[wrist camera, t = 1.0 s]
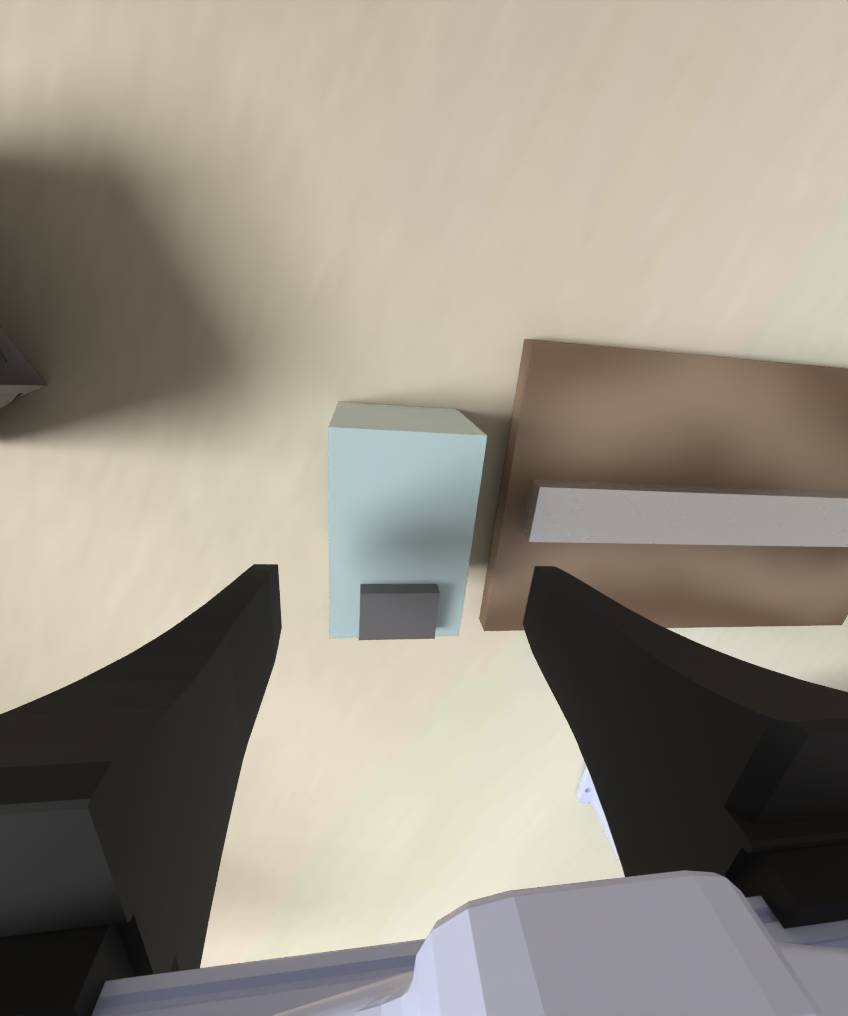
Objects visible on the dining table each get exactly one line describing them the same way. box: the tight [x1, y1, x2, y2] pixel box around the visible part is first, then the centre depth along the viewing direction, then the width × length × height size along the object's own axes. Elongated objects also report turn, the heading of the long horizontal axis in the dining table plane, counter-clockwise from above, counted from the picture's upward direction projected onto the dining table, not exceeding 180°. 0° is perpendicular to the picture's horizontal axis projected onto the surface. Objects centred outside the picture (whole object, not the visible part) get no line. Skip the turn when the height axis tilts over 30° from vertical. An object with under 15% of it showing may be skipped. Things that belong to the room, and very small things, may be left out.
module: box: [328, 402, 487, 640], centre depth 17 cm, size 8×5×6 cm, turn 175°
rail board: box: [479, 339, 848, 631], centre depth 21 cm, size 14×22×2 cm, turn 85°
